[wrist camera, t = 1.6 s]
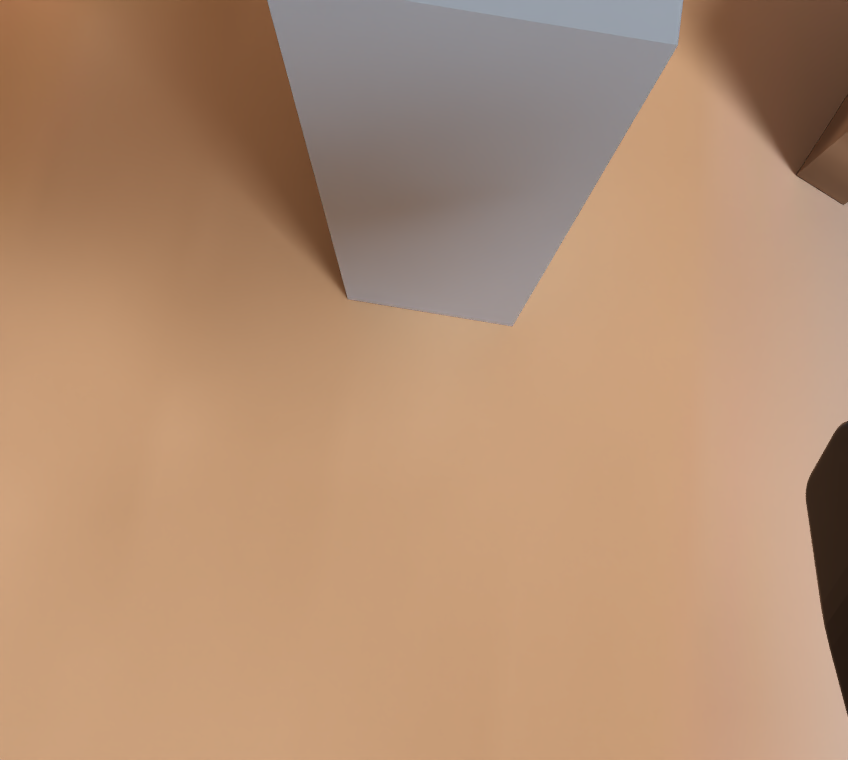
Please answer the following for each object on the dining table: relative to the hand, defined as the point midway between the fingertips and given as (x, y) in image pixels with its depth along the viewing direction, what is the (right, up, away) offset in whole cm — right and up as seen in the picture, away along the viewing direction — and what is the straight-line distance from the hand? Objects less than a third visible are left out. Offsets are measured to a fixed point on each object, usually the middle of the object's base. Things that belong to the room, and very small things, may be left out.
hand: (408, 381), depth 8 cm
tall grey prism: (+1, +7, +14) cm, 15 cm away
